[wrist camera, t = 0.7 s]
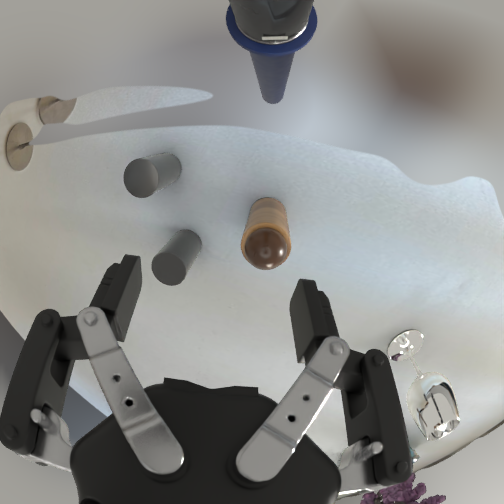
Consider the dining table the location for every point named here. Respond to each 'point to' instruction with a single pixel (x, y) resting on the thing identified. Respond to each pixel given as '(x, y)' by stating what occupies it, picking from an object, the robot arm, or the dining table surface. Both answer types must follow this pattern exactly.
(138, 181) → the dark grey upright cylinder
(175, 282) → the grey upright cylinder
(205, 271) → the dining table surface
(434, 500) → the bonsai tree
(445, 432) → the wineglass
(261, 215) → the pepper mill
